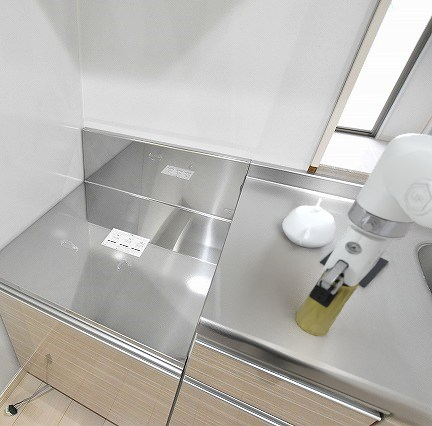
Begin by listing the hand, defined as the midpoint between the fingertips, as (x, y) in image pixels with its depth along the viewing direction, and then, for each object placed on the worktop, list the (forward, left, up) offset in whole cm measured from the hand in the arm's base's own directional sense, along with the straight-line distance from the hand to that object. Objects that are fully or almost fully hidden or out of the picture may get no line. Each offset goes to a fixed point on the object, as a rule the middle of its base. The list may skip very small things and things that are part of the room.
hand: (331, 288), depth 55 cm
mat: (+2, -26, -11) cm, 28 cm away
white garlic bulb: (+15, -26, -11) cm, 32 cm away
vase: (0, 0, -11) cm, 11 cm away
